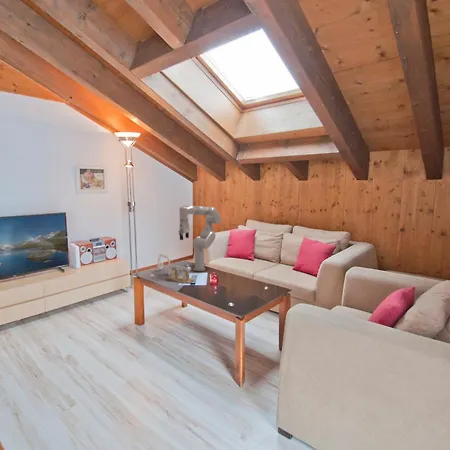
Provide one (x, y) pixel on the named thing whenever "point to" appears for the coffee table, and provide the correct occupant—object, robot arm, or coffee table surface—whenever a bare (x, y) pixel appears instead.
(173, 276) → the rack
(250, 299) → the coffee table surface
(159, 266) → the headset
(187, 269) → the spanner
